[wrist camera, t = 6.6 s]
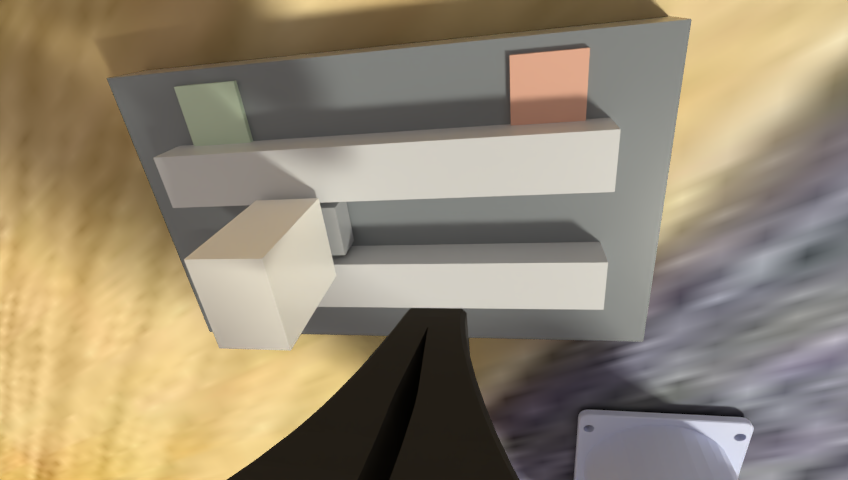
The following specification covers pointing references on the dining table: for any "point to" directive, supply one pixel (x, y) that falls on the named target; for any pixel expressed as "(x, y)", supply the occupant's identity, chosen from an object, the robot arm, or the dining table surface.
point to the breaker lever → (269, 270)
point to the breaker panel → (453, 100)
